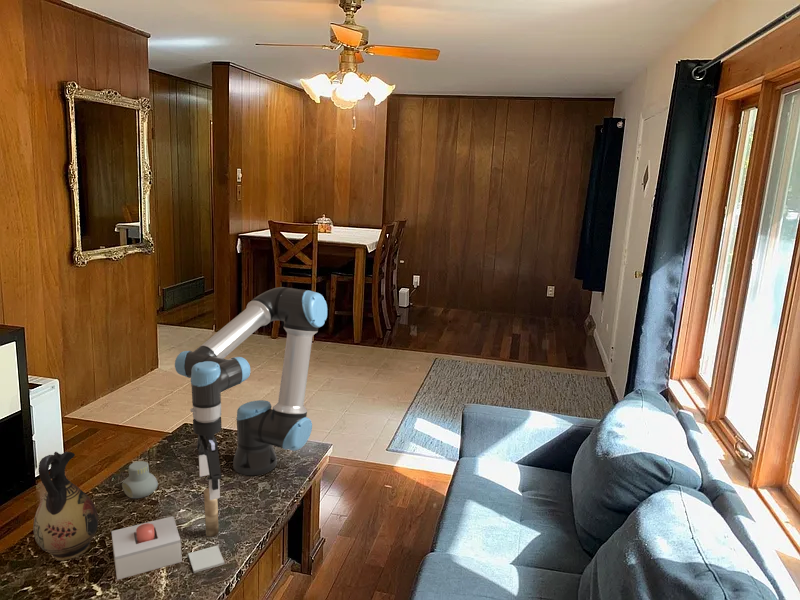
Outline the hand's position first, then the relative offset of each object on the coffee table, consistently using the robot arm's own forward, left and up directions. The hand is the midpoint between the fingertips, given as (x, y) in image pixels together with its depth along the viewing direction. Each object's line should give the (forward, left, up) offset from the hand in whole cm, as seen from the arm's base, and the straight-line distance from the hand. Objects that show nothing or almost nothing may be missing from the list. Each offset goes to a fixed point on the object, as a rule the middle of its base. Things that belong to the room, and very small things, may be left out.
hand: (209, 486), depth 171 cm
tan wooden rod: (0, 0, -15) cm, 15 cm away
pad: (+4, +11, -15) cm, 19 cm away
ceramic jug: (+37, -9, -16) cm, 41 cm away
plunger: (+18, +3, -11) cm, 21 cm away
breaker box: (+18, +3, -15) cm, 24 cm away
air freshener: (+16, -31, -16) cm, 38 cm away
